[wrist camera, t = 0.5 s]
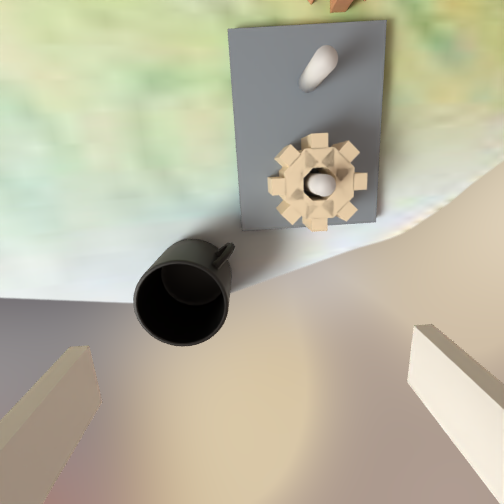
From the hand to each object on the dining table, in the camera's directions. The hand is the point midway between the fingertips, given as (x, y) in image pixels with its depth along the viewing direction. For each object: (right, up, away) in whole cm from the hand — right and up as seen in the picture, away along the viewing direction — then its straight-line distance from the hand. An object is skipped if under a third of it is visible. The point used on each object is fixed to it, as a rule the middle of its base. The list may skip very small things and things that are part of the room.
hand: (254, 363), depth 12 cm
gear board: (+6, +18, +22) cm, 29 cm away
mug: (-7, +3, +26) cm, 27 cm away
